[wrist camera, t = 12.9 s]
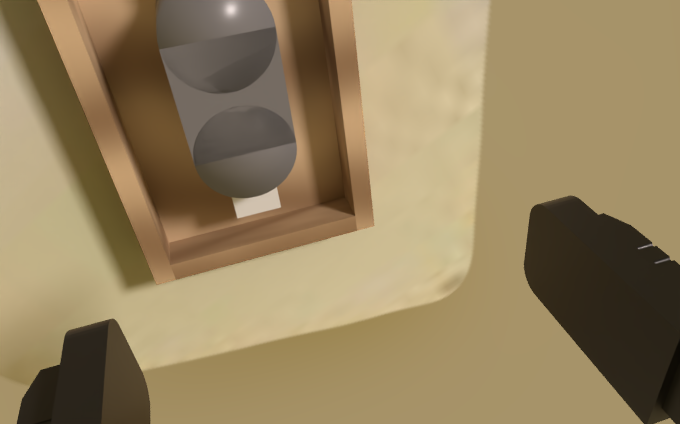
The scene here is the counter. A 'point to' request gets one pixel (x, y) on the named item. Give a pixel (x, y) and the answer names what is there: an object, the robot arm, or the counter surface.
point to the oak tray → (173, 150)
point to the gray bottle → (230, 96)
